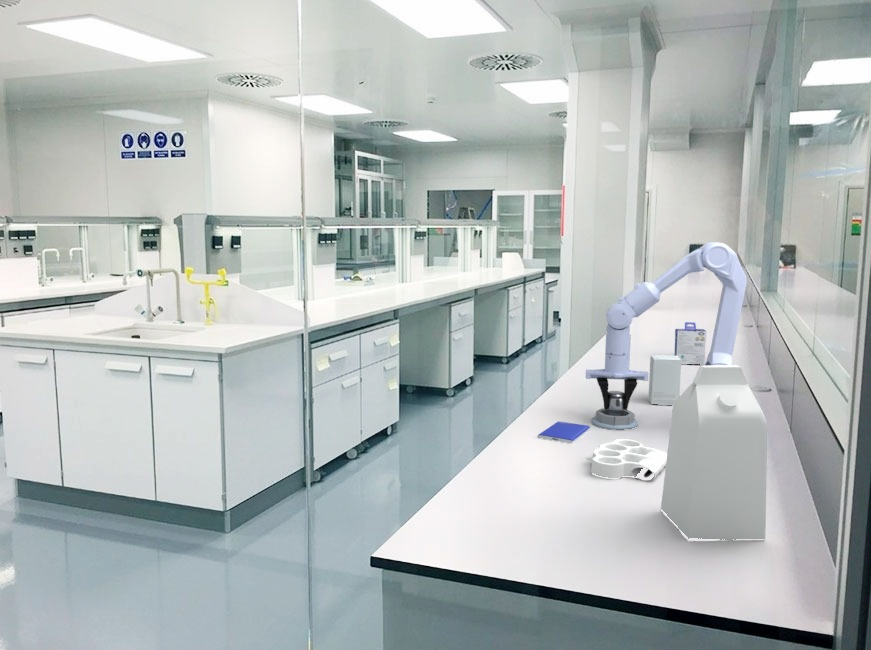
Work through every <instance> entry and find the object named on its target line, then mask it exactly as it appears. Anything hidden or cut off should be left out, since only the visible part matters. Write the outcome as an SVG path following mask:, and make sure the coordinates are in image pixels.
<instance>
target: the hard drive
mask: <svg viewBox="0 0 871 650" xmlns="http://www.w3.org/2000/svg"><path fill="white" fill-rule="evenodd" d="M590 430H591V426H590V425H587V424H580V423H573V422H566V421H556V422H555V423H553V424H552V425H550V426H549V427H548V428H546V429H545V430H543V431H542V432H540V433H538V434H537V439H540V438H543V439H542V440H546V439H549V441H552V440H554V441H553V442H558V441H560V442H561V443H564V442H567V443H566V444H570V443H573V442H574V443H576V442H577V441H578V440H579V439H580V438H582V437H583V436H584V435H586V434H587V433H588V432H589V431H590ZM586 432H587V433H586ZM585 433H586V434H585ZM581 436H582V437H581ZM576 440H577V441H576ZM574 443H573V444H574Z"/></svg>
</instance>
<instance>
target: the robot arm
mask: <svg viewBox="0 0 871 650" xmlns="http://www.w3.org/2000/svg"><path fill="white" fill-rule="evenodd" d="M704 268H705V269H707V270H708V271H710V272H712V273H713V274H714V276H715V277H716V278H717V279H718V280H719V281H720V282H721V284H722V289H721V293H720V300H719V304H718V310H717V314H716V319H715V324H714V330H713V334H712V341H711V345H710V350H709V353H708V355H707V358H706V362H705V363H704V365H703V366H721V365H733V353H734V347H735V343H736V340H737V339H736V338H737V333H738V328H739V323H740V318H741V313H742V307H743V303H744V297H745V294H746V288H747V284H748V278H747V275H746V273H745V272H744V269H743V268H742V265H741V262H740V261H739V258H738V254H737V253H736V252H735V251H734V250H733V249H732V248H731V247H730V246H728V244H725V243H723V242H716V241H710V242H706V243H704V244H703V245H702V246H701V247H700V248H696V249H695V250H693V251H691V252H690V253H688V254H687V255H685V256H683V257H682V258H681V259H679V261H677V262H676V263H675V264H674V265H672V266H671V267H670V268H669V269H667V270H666V271H665V272H663V273H662V274H661V275H660V276H659V277H657V278H656V279H655V280H653V282H649V281H648V282H647V281H643V282H642V283H639V282H638V283H636V284H635V285H633V286H634V289H632V290H631V291H629V293H627V294H625V295H624V297H622V296H620V297H618V298H617V301H618V302H616V303H613V304H611V305H610V306H609V308H608V309H607V311H606V314H605V316H606V321H607V326H606V333H605V353H604V354H605V356H604V368H601V369H585V379H586V380H591V379H594V380H596V381H597V384H598V386H599V388H600V392H601V396H602V400H603V401H602V402H603V408H605V409H608V392H609V380H624V381H623V382H624V386H623V387H624V389H623V390H624V392H623V393H625V398H624V410H628V406H629V403H630V400H631V397H632V394H633V393H634V392H635V389H636V387H637V385H638V381H644V382H649V375H650V372H648V371H642V370H633V369H630V360H631V359H630V358H631V357H630V355H631V336H632V335H631V334H630V331H631V329H630V326H631V324H632V322H633V320H634V318H639V317H640V316H641V315H642V314H644V313H645V312H647V311H648V310H649V309H650V308H652V307H653V306H655V305H656V304H658V303H659V302H660V300H661V294H662V293H663V292H664V291H666V290H667V289H669V288H670V287H672V286H673V285H674V284H676V283H677V282H679V281H680V280H681V279H683V278H684V277H686V276H687V275H689V274H691V273H698V272H704V271H705V269H704Z"/></svg>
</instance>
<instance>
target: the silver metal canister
mask: <svg viewBox="0 0 871 650" xmlns="http://www.w3.org/2000/svg"><path fill="white" fill-rule="evenodd" d="M624 398H625V393H624V392H623V391H618V390H610V391H609V390H608V409H607V415H611V416H624Z"/></svg>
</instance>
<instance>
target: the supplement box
mask: <svg viewBox="0 0 871 650" xmlns="http://www.w3.org/2000/svg"><path fill="white" fill-rule="evenodd" d="M649 360H650V361H649V376H648V384H649V385H648V396H647V397H648V398H649V399H648V400H649V402H650V404H651V405H652V404H658V405H657V406H666V405H672V406H671V407H673V406H674V403H675V402H676V400H677V399H678V398H679V397H680V389H681V373H682V372H681V369H682V364H681V360H680V358H679V357H678V356H674V355H671V354H670V355H666V354H663V355H661V354H651V355H650V359H649Z"/></svg>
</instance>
